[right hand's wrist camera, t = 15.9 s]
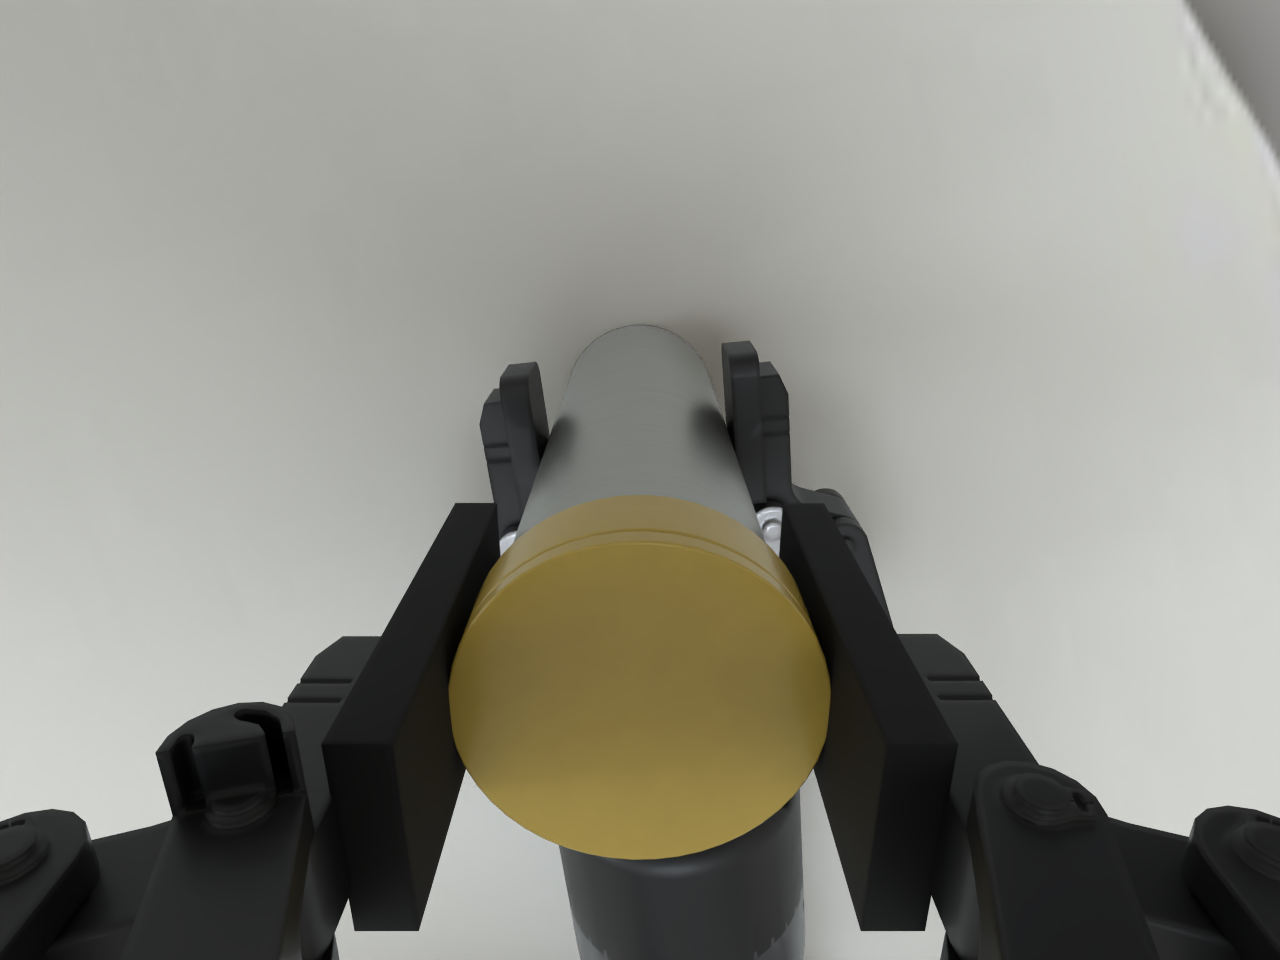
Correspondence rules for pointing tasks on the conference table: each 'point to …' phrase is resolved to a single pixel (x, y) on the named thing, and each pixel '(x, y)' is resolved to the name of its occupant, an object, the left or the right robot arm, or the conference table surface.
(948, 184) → the conference table surface
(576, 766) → the lid
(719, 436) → the grey metal canister
